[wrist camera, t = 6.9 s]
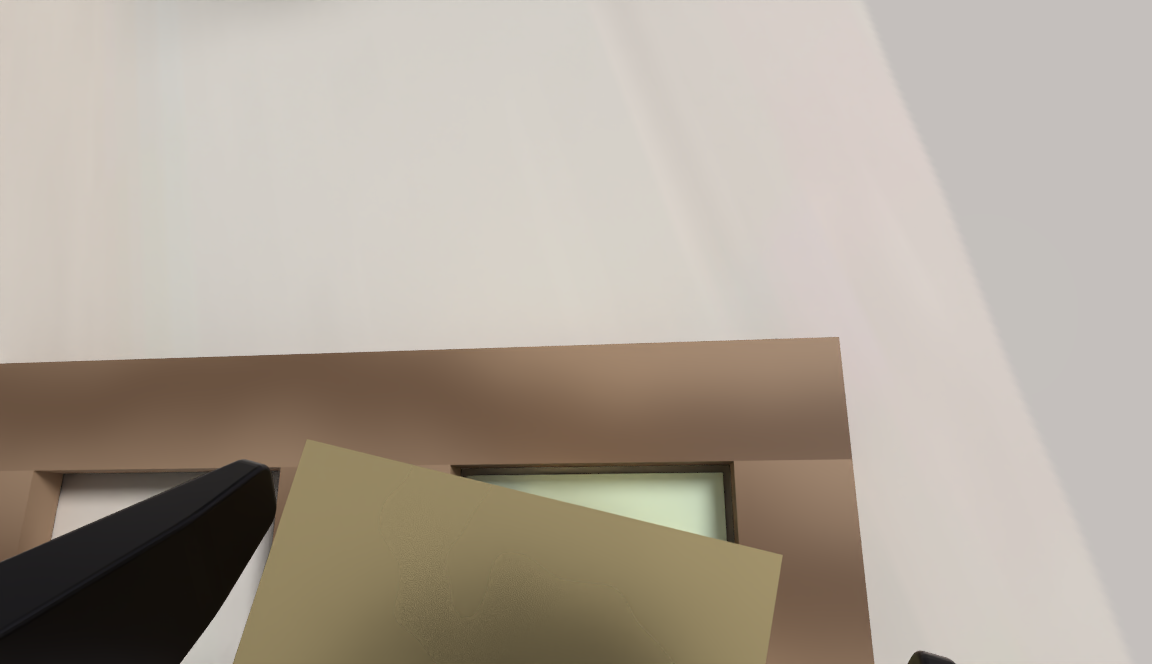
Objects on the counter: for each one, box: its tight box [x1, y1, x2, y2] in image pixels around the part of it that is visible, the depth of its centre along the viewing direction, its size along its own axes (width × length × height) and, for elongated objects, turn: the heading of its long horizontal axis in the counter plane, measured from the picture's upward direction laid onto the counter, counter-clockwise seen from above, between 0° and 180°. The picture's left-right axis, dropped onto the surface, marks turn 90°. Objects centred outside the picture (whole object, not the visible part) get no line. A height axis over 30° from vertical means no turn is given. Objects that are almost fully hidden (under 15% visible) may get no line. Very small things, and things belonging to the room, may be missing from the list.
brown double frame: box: [0, 337, 874, 664], centre depth 18 cm, size 13×24×1 cm, turn 90°
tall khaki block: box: [233, 439, 783, 664], centre depth 12 cm, size 4×4×12 cm
